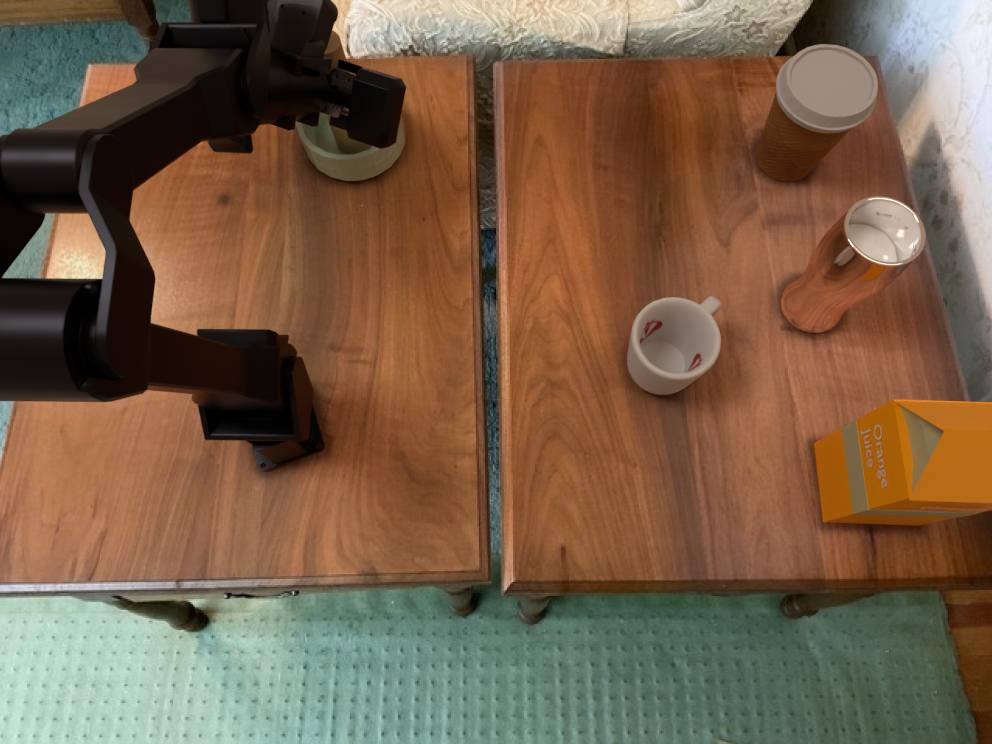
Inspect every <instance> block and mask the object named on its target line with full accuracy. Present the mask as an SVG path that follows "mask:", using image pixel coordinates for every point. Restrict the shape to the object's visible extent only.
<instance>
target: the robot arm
mask: <svg viewBox="0 0 992 744" xmlns="http://www.w3.org/2000/svg"><path fill="white" fill-rule="evenodd" d="M187 4H188V9H189V10H188V11H189V17H190V21H161V23H160V26H159V28H158V31H157V32H156V35H155V38H154V40H151V41H150V42H149V45H148V51H147V54H146V55H145V56H144V57H142V59H141V60H139V62H137V63H136V64H135V66H134V67H133V72H134V76H135V81H134V82H133V83H132V84H130V85H128V86H126V87H123V88H121V89H118V90H116V91H114V92H112V93H109V94H107V95H105V96H102V97H101V98H98V99H95V100H94V101H91V102H88V103H86V104H84V105H82V106H80V107H78V108H75V109H73V110H70V111H68V112H66V113H63V114H61V115H59V116H57V117H55V118H52V119H50V120H48V121H45V122H43V123H41V124H39V125H36V126H34V127H21V128H15V129H13V130H12V131H11V132H10V133H8V134H7V133H6V134H2V135H0V402H42V403H43V402H52V403H55V402H56V403H60V402H61V403H110V402H111V403H112V402H115V401H120V400H123V399H128V398H132V397H135V396H139V395H143V394H145V393H146V392H147V391H152V392H164V393H177V394H186V395H191V401H192V402H193V403H194V404H195V405H197V408H198V412H199V419H200V424H201V428H202V433H203V438H204V440H205V441H234V442H235V441H237V442H239V441H241V442H242V441H243V442H247V443H248V444H250V445H252V449H253V452H254V457H255V460H256V461H255V462H256V464H257V468H258V470H260V471H261V472H268V471H270V470H273V469H276V468H278V467H279V468H280V467H283V466H285V465H287V464H290V463H294V462H296V461H298V460H301V459H304V458H308V457H309V456H313V455H316V454H318V453H321V452H323V451H324V450H325V448H326V443H325V440H324V437H323V432H322V430H321V426H320V423H319V420H318V416H317V413H316V410H315V409H316V408H315V406H314V403H313V400H314V399H313V398H314V387H313V384H312V381H311V379H310V375H309V373H308V369H307V367H306V364H305V361H304V359H303V357H302V356H298V351H297V349H296V348H295V346H294V345H293V344H292V343H289V341H290V335H289V334H279V333H278V332H277V331H274V330H272V329H267V328H266V329H263V328H262V329H260V328H256V329H255V328H254V329H253V328H249V329H248V328H238V329H237V328H196V334H192V333H189V332H185V331H182V330H179V329H175V328H171V327H167V326H164V325H161V324H158V323H157V324H156V323H153V322H152V314H153V313H152V312H153V304H154V297H155V296H154V295H155V287H156V272H155V270H154V267H153V265H152V263H151V262H150V259H149V257H148V256H147V253H146V251H145V250H144V247H143V246H142V243H141V241H140V239H139V237H138V235H137V233H136V231H135V229H134V226H133V224H132V222H131V211H132V204H133V203H132V202H133V198H134V197H133V195H134V191H135V190H137V189H138V188H139V187H141V186H142V185H143V184H145V183H147V182H148V181H150V180H151V179H152V178H153V177H155V176H156V175H158V174H159V173H160V172H162V171H164V169H166V168H167V167H168V166H170V165H171V164H173V163H174V162H175V161H177V160H178V159H180V158H181V157H183V156H184V155H185V154H187V153H188V152H189V151H191V150H193V148H195V147H197V146H198V145H199V144H200V143H203V142H207V145H208V146H209V147H210V149H211V151H212V152H214V153H225V154H252V153H253V152H254V145H253V136H252V135H253V134H255V133H256V131H257V130H258V128H259V126H264V125H265V126H266V125H271V126H275V127H276V128H280V129H283V130H286V131H293V130H295V129H296V121H297V122H300V123H303V124H306V125H309V126H312V127H315V126H318V123H319V116H320V112H321V113H324V114H327V115H330V122H329V125H331V126H334V127H337V128H340V129H343V130H346V131H347V134H348V137H349V138H350V139H353V140H356V141H359V142H362V143H365V144H368V145H371V146H374V147H377V148H380V149H383V148H387V147H390V146H392V145H393V144H395V143H396V139H397V134H398V129H399V123H400V118H401V113H402V114H403V106H404V102H405V96H406V92H407V91H406V90H407V86H406V83H405V82H404V80H403V78H401V77H398V76H394V75H392V74H388V73H385V72H382V71H379V70H375V69H371V68H367V67H363V65H362V66H361V65H358V64H356V63H353V62H349V61H347V62H346V61H343V60H340V59H338V66H337V68H334V69H332V70H331V64H332V59H330V58H327V57H324V52H325V51H326V49H327V46H328V43H329V39H330V36H331V33H332V31H333V30H334V25H335V23H336V22H337V20H338V17H339V9H338V6H337V5H336V4H335V2H333V0H187ZM47 214H53V215H54V214H55V215H56V214H60V215H61V214H65V215H66V214H67V215H69V214H70V215H71V214H73V215H79V214H81V215H88V216H89V218H90V220H91V223H92V225H93V228H94V229H95V231H96V233H97V235H98V237H99V240H100V243H101V244H102V247H103V249H104V250H105V256H104V262H103V263H104V264H103V271H102V278H61V277H60V278H54V277H53V278H52V277H51V278H49V277H48V278H45V277H44V278H43V277H42V278H41V277H20V278H19V277H4V275H5V274H6V272H7V271H8V270H9V268H10V267H11V266H12V265H13V263H14V262H15V261H16V259H17V258H18V257H19V256H20V254H21V253H22V251H23V250H24V249H25V248H26V246H27V245H28V244H29V242H30V241H32V239H33V237H34V236H35V235H36V234H37V232H38V231H39V230H40V228H41V227H42V225H43V223H44V222H45V219H46V215H47ZM319 445H321V447H319ZM318 447H319V448H318ZM263 465H265V466H264V467H263Z"/></svg>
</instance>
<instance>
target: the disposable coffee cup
mask: <svg viewBox="0 0 992 744" xmlns="http://www.w3.org/2000/svg"><path fill="white" fill-rule="evenodd" d="M878 91H879V80H878V76H877V73H876V71H875V69H874V68H873V67H872V65H871V64H870V63H869V62H868V60H867V59H866V58H864V56H862V55H861V54H859V53H858V52H857V51H855V50H853V49H851V48H848V47H846V46H841V45H838V44H827V43H826V44H825V43H821V44H814V45H811V46H807V47H805V48H803V49H801V50H799V51H798V52H796V54H795V55H793V56H792V57H790V58H788V60H787V61H786V62H784V63H783V65H782V66H781V67H780V69H779V71H778V73H777V76H776V81H775V93H774V96H773V100H772V102H771V106H770V108H769V111H768V115H767V119H766V121H765V124H764V127H763V130H762V133H761V135H760V139H759V141H758V144H757V147H756V150H755V158H756V163H757V165H758V167H759V168H760V170H761V171H762V172H763V173H764V174H765V175H767V176H768V177H770V178H772V179H775V180H776V181H780V182H789V183H790V182H796V181H800V180H802V179H803V178H805V177H807V176H808V175H809V174H810V172H812V171H813V170H814V169H815V167H816V166H818V164H819V163H820V162H821V161H822V160H823V159H824V158H825V157H826V156H827V155H828V154H829V153H831V152H832V150H833V149H834V148H835V147H836V146H837V145H838V143H840V141H841V140H843V139H844V137H845V136H846V135H847V134H848V133H849V132H850V131H852V129H853V128H854V127H857V126H859V125H860V124H862V123H864V122H865V120H867V119H868V118H869V117H870V116H871V114H872V113H873V111H874V109H875V106H877V105H876V104H877V98H878Z"/></svg>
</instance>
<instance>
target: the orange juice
mask: <svg viewBox="0 0 992 744" xmlns="http://www.w3.org/2000/svg"><path fill="white" fill-rule="evenodd" d="M813 447H814V456H815V464H816V472H817V473H816V474H817V481H818V490H819V499H820V507H821V516H822V522H823V523H831V524H834V523H835V524H859V525H860V524H863V525H889V526H893V525H894V526H897V525H898V526H917V527H919V526H923V525H927V524H932V523H937V522H941V521H947V520H952V519H956V518H957V519H958V518H964V517H967V516H968V517H969V516H973V515H978V514H980V513H985V512H989V511H992V401H967V400H966V401H965V400H964V401H962V400H960V401H959V400H932V399H931V400H930V399H929V400H928V399H895V398H894V399H893V398H892V399H891V400H889V401H888V402H886V403H884V404H882V405H881V406H879V407H877V408H875V409H873V410H871V411H870V412H867V413H866V414H864V415H863V416H860V417H859V418H857V419H854V420H852V421H850V422H848V423H846V424H844V425H843V426H842V427H841V428H839V429H837V430H835V431H833V432H832V433H830V434H828V435H826V436H824V437H823V438H821V439H819V440H817V441H816V442H814V443H813Z"/></svg>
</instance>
